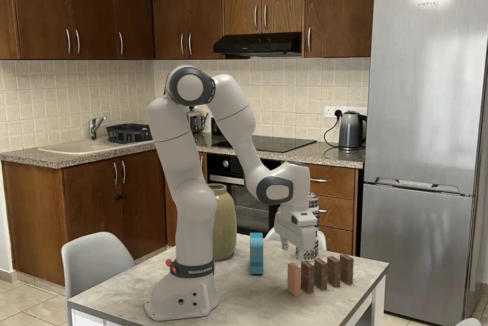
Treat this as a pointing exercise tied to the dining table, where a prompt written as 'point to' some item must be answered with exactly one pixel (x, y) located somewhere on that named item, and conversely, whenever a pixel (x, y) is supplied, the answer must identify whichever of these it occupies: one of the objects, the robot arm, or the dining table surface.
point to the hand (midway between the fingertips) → (292, 254)
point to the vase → (223, 224)
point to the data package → (256, 253)
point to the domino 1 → (293, 279)
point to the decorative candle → (314, 209)
